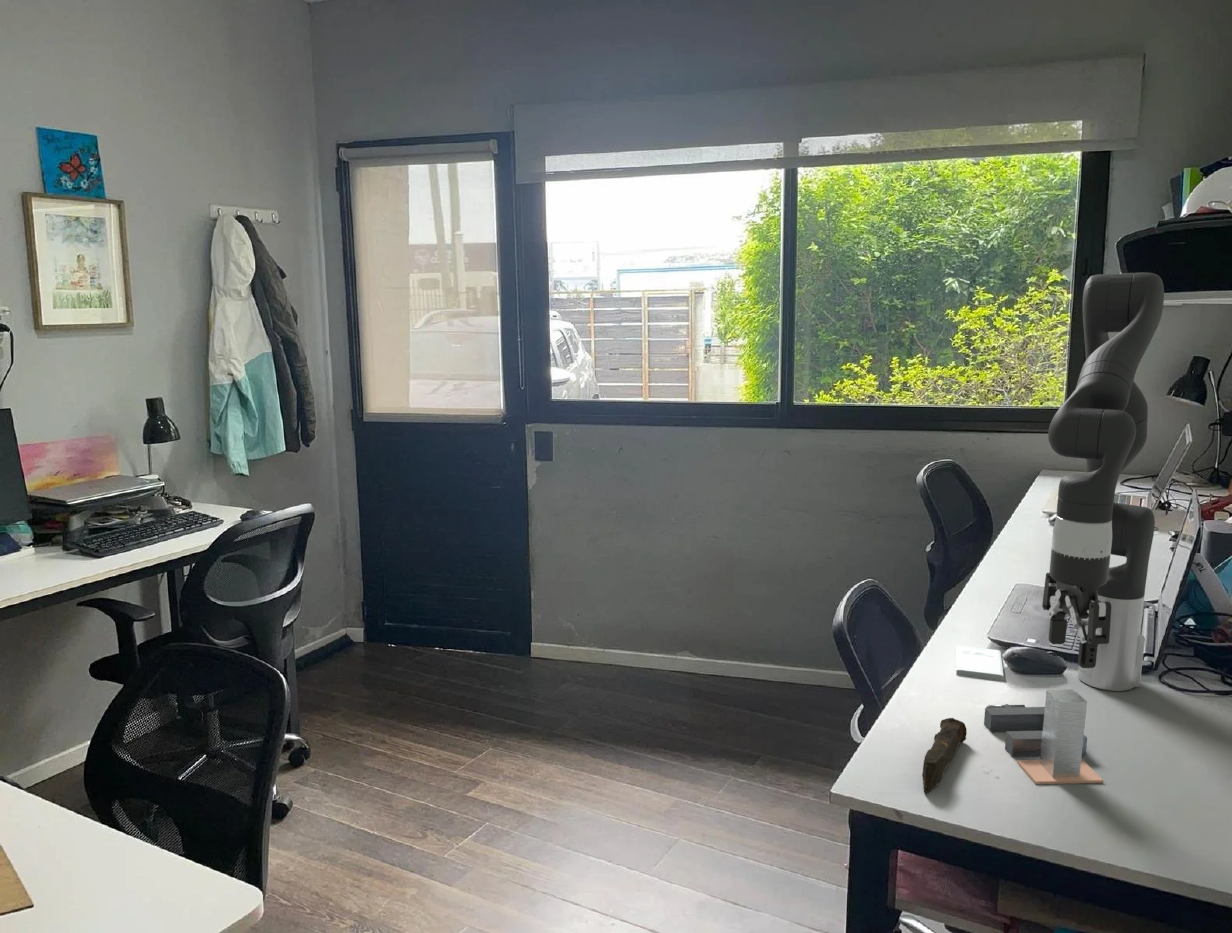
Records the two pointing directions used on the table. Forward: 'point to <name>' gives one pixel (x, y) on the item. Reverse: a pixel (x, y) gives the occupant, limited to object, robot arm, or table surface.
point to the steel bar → (1063, 733)
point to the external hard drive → (979, 663)
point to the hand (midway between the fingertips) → (1070, 654)
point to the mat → (1043, 777)
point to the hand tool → (942, 751)
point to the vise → (1019, 728)
